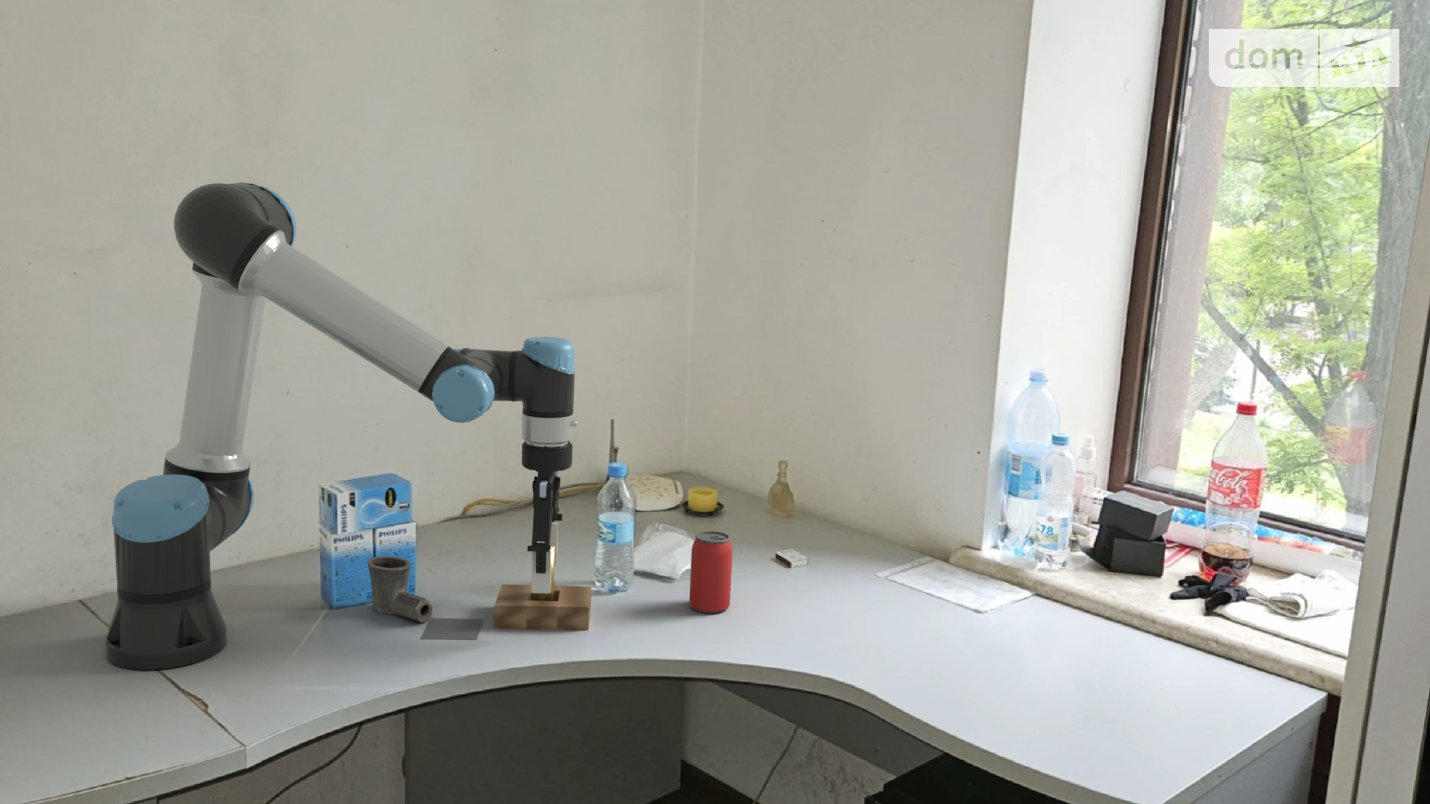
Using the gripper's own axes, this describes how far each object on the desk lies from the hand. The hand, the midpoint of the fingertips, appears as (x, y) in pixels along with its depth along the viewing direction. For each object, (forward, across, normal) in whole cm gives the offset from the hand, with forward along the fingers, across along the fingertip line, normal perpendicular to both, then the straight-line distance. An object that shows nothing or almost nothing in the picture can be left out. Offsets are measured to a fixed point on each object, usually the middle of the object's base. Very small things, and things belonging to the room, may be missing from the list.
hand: (544, 576), depth 172 cm
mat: (+7, -5, +13) cm, 16 cm away
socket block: (+7, 0, 0) cm, 7 cm away
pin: (+7, 0, 0) cm, 7 cm away
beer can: (+7, +7, -26) cm, 28 cm away
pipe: (+7, +1, +22) cm, 23 cm away
